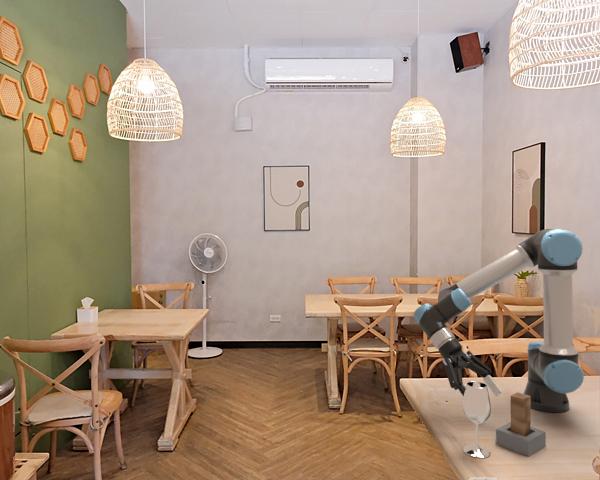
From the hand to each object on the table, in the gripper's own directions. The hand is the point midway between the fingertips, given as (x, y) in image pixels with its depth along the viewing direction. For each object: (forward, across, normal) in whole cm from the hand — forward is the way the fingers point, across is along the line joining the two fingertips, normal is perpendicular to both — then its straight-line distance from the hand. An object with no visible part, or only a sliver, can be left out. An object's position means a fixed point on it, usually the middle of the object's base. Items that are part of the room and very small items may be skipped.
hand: (487, 399), depth 149 cm
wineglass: (+11, +14, -4) cm, 19 cm away
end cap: (+15, 0, 0) cm, 15 cm away
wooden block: (+14, 0, 0) cm, 14 cm away
